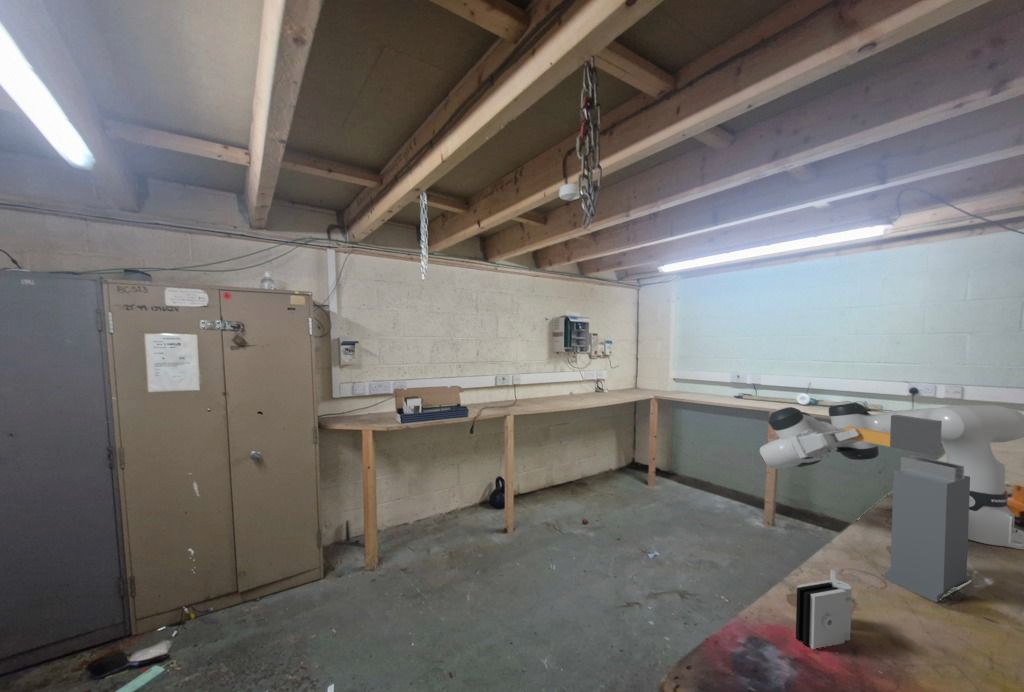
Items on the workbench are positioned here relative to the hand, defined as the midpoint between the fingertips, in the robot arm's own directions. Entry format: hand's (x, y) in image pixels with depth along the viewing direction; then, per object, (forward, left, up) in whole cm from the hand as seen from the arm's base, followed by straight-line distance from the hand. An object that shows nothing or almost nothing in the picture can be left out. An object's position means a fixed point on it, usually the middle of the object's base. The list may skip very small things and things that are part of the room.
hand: (862, 431), depth 103 cm
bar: (0, +5, -2) cm, 6 cm away
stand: (-1, +13, -33) cm, 36 cm away
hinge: (+42, +13, -34) cm, 55 cm away
